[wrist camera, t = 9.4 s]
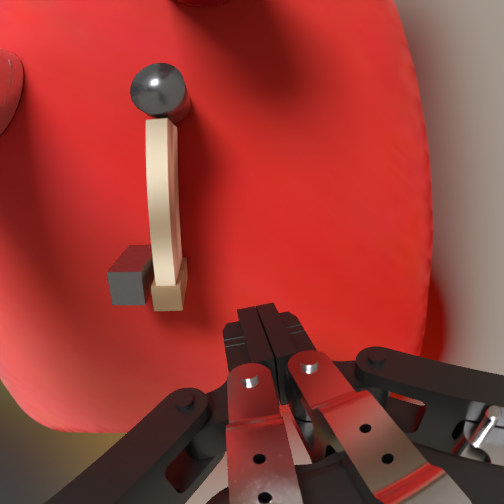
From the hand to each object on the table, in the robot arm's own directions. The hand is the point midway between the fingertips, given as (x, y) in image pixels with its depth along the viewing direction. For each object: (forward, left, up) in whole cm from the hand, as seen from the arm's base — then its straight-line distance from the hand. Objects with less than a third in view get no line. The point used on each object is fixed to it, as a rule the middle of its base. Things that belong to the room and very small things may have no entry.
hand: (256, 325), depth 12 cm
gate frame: (-6, +5, -11) cm, 14 cm away
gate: (-5, +3, -11) cm, 12 cm away
